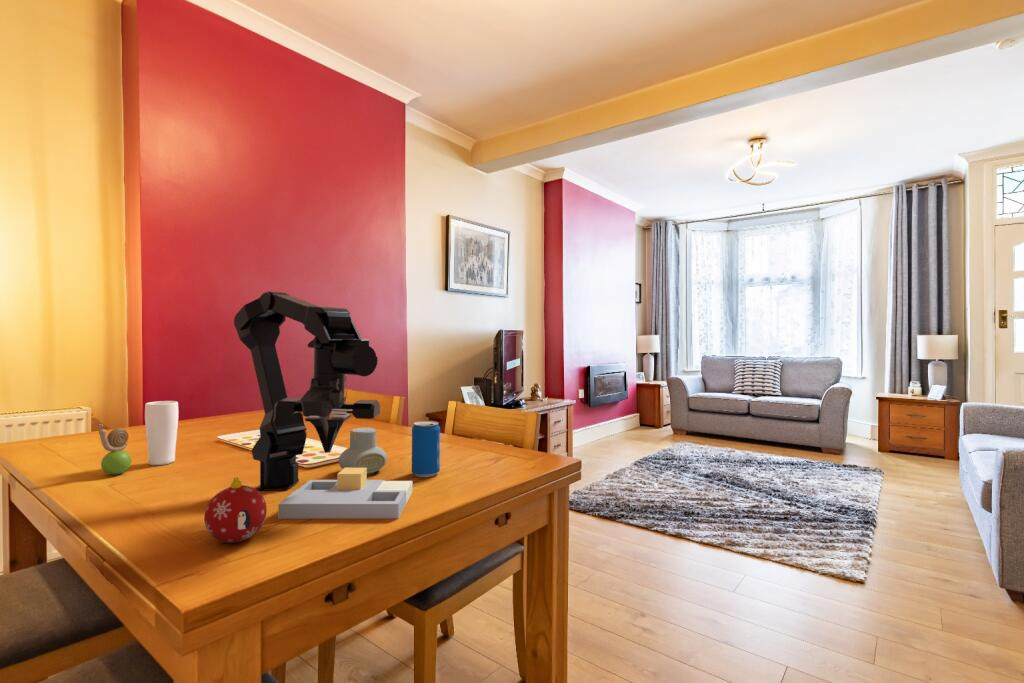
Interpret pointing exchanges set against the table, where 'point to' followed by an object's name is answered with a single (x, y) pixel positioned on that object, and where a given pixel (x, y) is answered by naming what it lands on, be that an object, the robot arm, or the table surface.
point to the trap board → (346, 500)
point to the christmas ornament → (235, 513)
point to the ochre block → (352, 478)
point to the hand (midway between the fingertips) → (327, 452)
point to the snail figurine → (115, 451)
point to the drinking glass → (161, 431)
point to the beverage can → (425, 448)
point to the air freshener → (363, 451)
